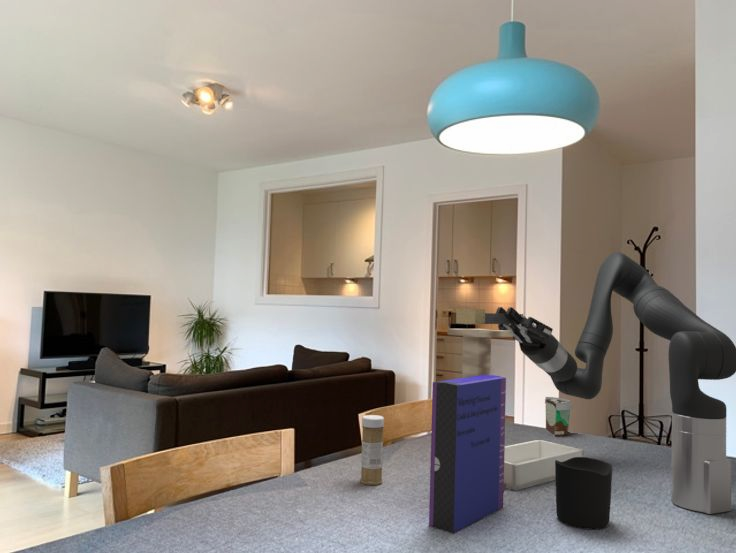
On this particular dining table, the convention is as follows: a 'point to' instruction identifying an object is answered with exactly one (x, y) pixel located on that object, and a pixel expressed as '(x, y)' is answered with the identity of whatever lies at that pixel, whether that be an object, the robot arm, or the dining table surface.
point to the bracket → (477, 350)
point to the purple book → (466, 451)
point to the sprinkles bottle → (372, 449)
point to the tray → (534, 462)
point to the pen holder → (583, 492)
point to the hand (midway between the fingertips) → (503, 310)
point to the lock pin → (480, 317)
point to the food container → (557, 416)
